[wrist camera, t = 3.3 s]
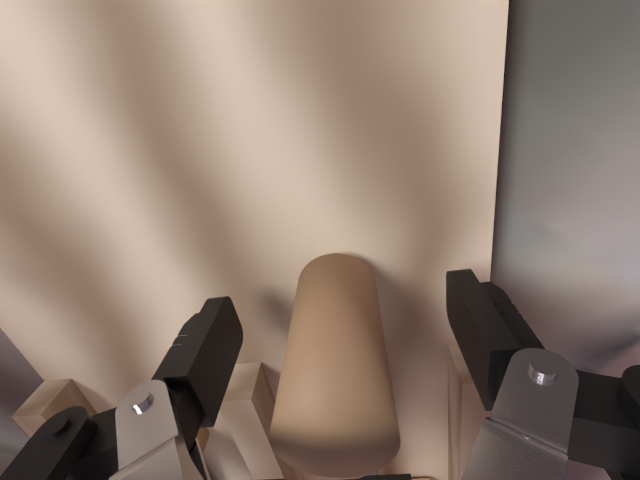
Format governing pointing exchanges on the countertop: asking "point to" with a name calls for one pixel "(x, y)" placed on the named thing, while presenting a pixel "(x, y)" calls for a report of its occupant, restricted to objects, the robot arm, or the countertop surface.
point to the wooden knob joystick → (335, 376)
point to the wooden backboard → (246, 195)
